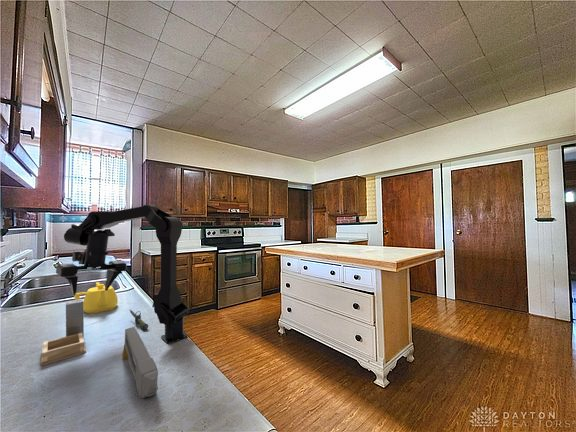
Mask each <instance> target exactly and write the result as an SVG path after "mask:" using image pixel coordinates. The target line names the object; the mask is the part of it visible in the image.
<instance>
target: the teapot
mask: <svg viewBox="0 0 576 432" xmlns="http://www.w3.org/2000/svg"><path fill="white" fill-rule="evenodd" d="M83 295H84V299H83V312H85V313H87V314H89V315H90V314H96V313H101V312H102V313H103V312H107V311H111V310H114V309H115V308H116V307H117V304H118V302H119V300H118V295H117V293H116V289H114V287H113V286H112V285H111V286H110V287H109V289H108V290H107V291H106V290H105V284H104V283H100V282H99V281H97V282H95V287H91V288H89V289H87V291H82V292H76V294H75V295H73V297H74V300H78V299H81V296H83Z"/></svg>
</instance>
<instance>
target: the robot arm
mask: <svg viewBox="0 0 576 432" xmlns="http://www.w3.org/2000/svg"><path fill="white" fill-rule="evenodd" d="M139 219H145V220H146V221H147V222H148V224H149V225H151V226H152V227H153V228H155V229H154V230H155V236H156V238H157V241H159V244H160V283H159V285H160V287H159V290H158V292H156V293H153V294H152V301H153V302H152V309H153V310H154V313H155V314H156V316H157V319H158V322H159V324H160V325H161V324H162V325H164V334H162V335H161V336H160V337H161V339H162V340H163V341H164V342H165V343H166V344H171V343H175V342H177V341H180V340H183V339H187V338H188V334H187V333H185V330H184V329H185V327H184V326H185V324H184V323H185V322H184V316H186V315H188V312H189V311H190V310H189V307H188V306H187V305H186V304H185V303H184V302H183V300H182V296H181V291H180V290H179V288H178V286H177V273H178V272H177V269H178V268H177V265H178V264H177V263H178V262H177V259H178V257H177V255H178V254H177V251H178V242H179V240H180V238H181V236H182V231H183V221H182V220H180V219H179V218H178V217H176V216H172V215H171V214H169V213H168V212H166V211H164V210H163V209H160V207H158V206H157V205H154V204H144V205H142V206H136V207H130V208H125V209H120V210H114V211H90V212H89V213H88V214H87V216H86V218H85V219H84V220H83V221H82V222H81V223H80V224H78V223H75V224H74V223H73V224H71V227H70V228H68V229H66V231H65V233H64V234H63V239H64V242H66V243H68V244H72V245H77V246H86V247H85V249H84V252H83V253H82V252H81V251H74V252H72V256H71V257H72V258H71V261H72V262H73V263H60V264H58V265H57V266H56V269H55V273H56V275H58V276H59V277H63V278H64V279H65V280H67V282H68V283H69V287H70V290H71V294H72V296H74V295H75V294H76V293H77V288H78V287H77V286H78V278H79V276H77V274H78V273H79V272H80V273H81V272H91V271H92V272H93V271H103V270H106V274H107V276H106V280H105V284H104V286H105V290H106V291H107V290H108V289H109V287H110V286H112V284H113V283H114V281H115V280H116V279H117V277H119V275H120V274H121V275H122V274H123V272H126V271H127V269H128V267H127V266H128V265H127V263H126V262H124V261H122V260H110V261H109V262H108V263H106V258H107V257H106V256H107V255H109V254H108V253H109V251H107V249H108V244H109V237H115V235H116V234H115V233H114V232H113V231H112V230H111V229H110V228H112V227H115V226H118V225H119V224H120V223H123V222H130V221H134V220H139ZM74 262H78V265H76V264H74Z"/></svg>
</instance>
